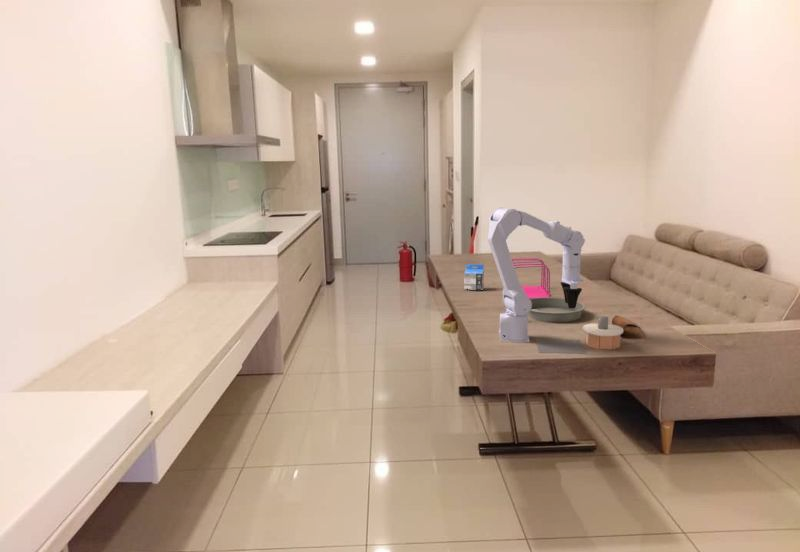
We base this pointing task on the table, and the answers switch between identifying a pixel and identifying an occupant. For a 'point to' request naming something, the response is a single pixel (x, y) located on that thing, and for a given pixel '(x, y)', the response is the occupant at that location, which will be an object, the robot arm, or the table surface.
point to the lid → (603, 328)
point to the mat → (560, 346)
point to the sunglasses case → (628, 328)
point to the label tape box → (474, 277)
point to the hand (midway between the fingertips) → (570, 305)
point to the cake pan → (554, 310)
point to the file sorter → (540, 290)
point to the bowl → (603, 341)
